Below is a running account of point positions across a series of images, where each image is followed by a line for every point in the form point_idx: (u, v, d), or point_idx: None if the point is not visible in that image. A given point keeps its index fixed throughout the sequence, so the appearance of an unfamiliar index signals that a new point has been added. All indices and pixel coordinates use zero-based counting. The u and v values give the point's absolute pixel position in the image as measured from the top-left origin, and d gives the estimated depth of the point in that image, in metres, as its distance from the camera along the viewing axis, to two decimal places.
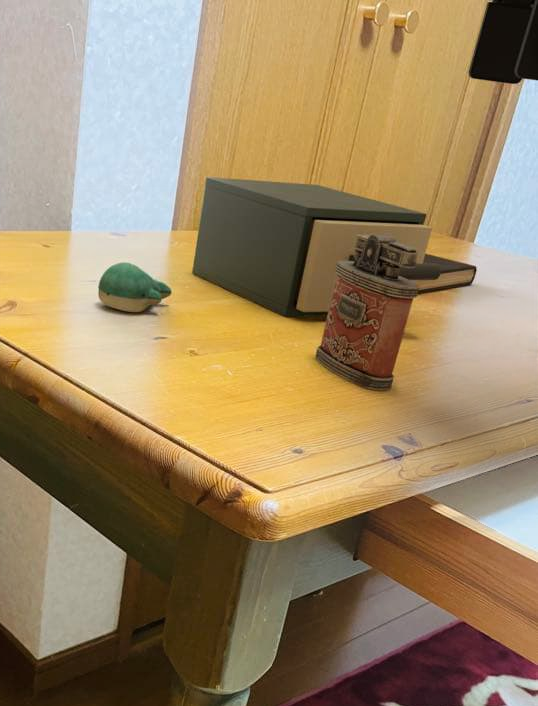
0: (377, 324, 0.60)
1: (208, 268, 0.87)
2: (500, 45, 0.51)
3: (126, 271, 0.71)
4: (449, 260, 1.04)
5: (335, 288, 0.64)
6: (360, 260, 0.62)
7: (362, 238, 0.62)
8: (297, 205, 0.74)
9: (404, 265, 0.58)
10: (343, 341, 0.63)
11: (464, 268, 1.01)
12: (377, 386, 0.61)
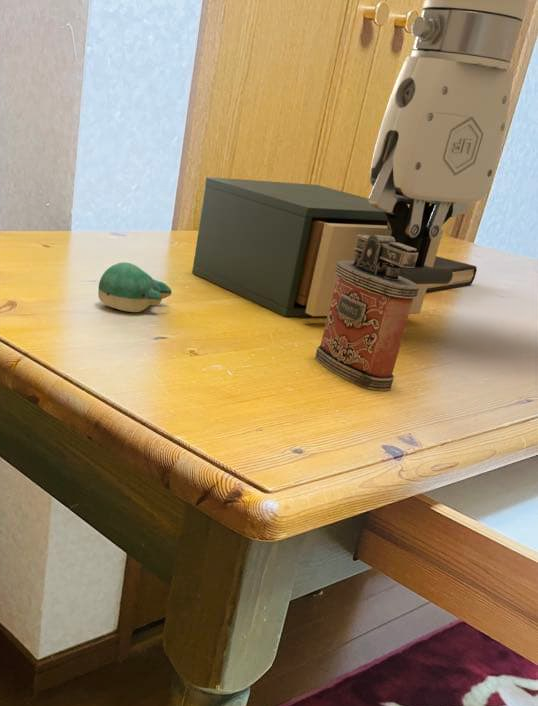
0: (377, 324, 0.60)
1: (208, 268, 0.87)
2: None
3: (126, 271, 0.71)
4: (449, 260, 1.04)
5: (335, 288, 0.64)
6: (360, 260, 0.62)
7: (362, 238, 0.62)
8: (297, 205, 0.74)
9: (404, 265, 0.58)
10: (343, 341, 0.63)
11: (464, 268, 1.01)
12: (377, 386, 0.61)
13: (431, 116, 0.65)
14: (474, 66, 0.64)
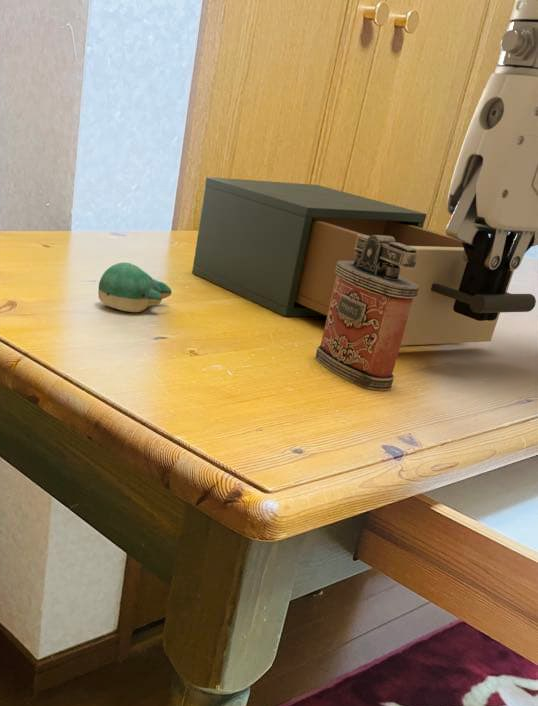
0: (377, 324, 0.60)
1: (208, 268, 0.87)
2: None
3: (126, 271, 0.71)
4: None
5: (335, 288, 0.64)
6: (360, 260, 0.62)
7: (362, 238, 0.62)
8: (297, 205, 0.74)
9: (404, 265, 0.58)
10: (343, 341, 0.63)
11: None
12: (377, 386, 0.61)
13: (521, 139, 0.59)
14: None
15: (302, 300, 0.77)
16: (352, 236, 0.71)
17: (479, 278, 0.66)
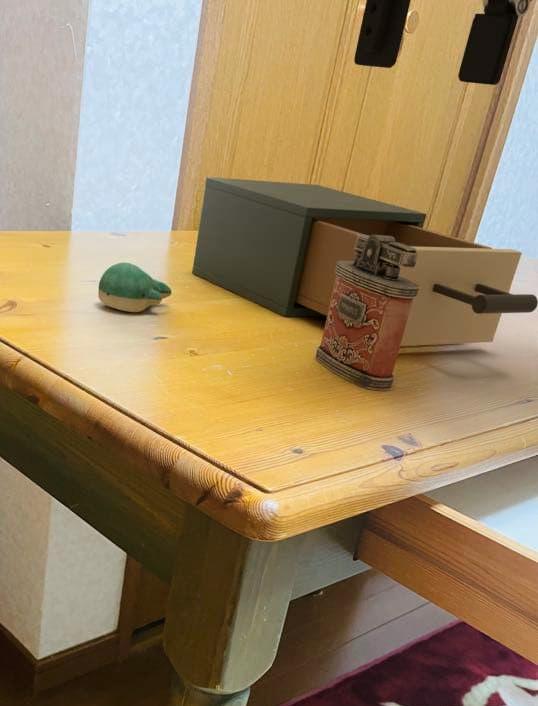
0: (377, 324, 0.60)
1: (208, 268, 0.87)
2: (478, 50, 0.56)
3: (126, 271, 0.71)
4: None
5: (335, 288, 0.64)
6: (360, 260, 0.62)
7: (362, 238, 0.62)
8: (297, 205, 0.74)
9: (404, 265, 0.58)
10: (343, 341, 0.63)
11: None
12: (377, 386, 0.61)
13: None
14: None
15: (304, 300, 0.77)
16: (354, 237, 0.71)
17: (381, 4, 0.50)
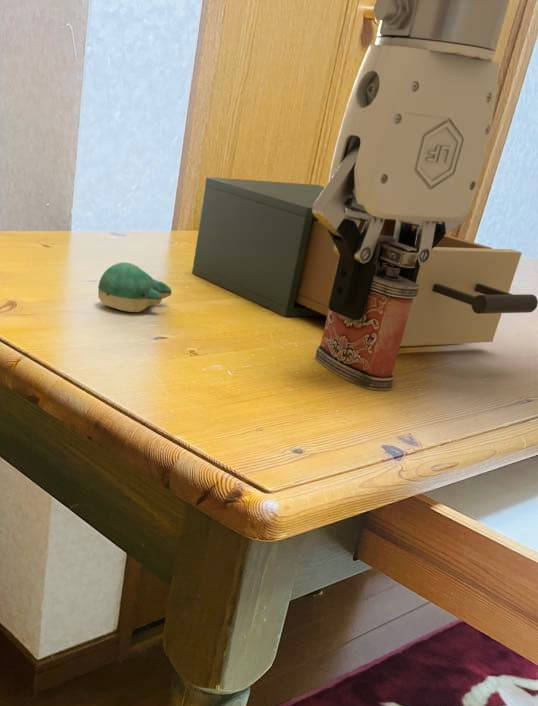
0: (377, 324, 0.60)
1: (208, 268, 0.87)
2: None
3: (126, 271, 0.71)
4: None
5: None
6: None
7: None
8: (297, 205, 0.74)
9: (404, 265, 0.58)
10: (343, 341, 0.63)
11: None
12: (377, 386, 0.61)
13: (399, 117, 0.53)
14: (451, 56, 0.52)
15: (304, 300, 0.77)
16: None
17: (350, 272, 0.59)
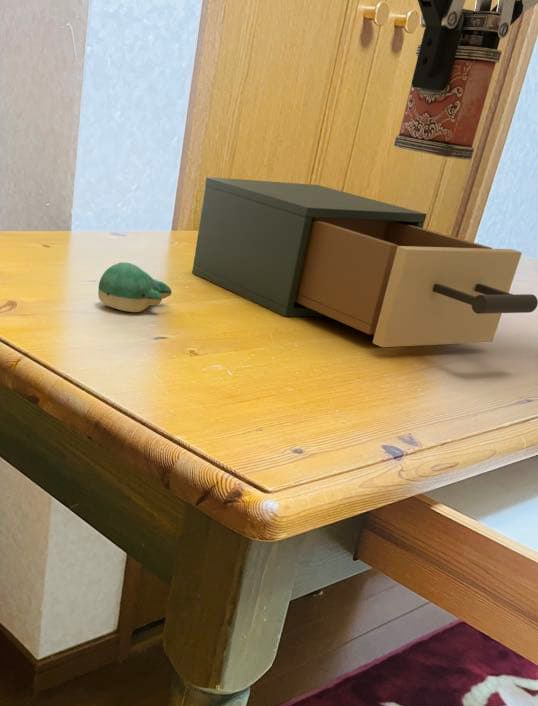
0: (461, 91, 0.64)
1: (208, 268, 0.87)
2: None
3: (126, 271, 0.71)
4: None
5: None
6: None
7: None
8: (297, 205, 0.74)
9: (489, 28, 0.62)
10: (425, 118, 0.67)
11: None
12: (459, 155, 0.65)
13: None
14: None
15: (304, 300, 0.77)
16: (354, 237, 0.71)
17: (436, 40, 0.63)
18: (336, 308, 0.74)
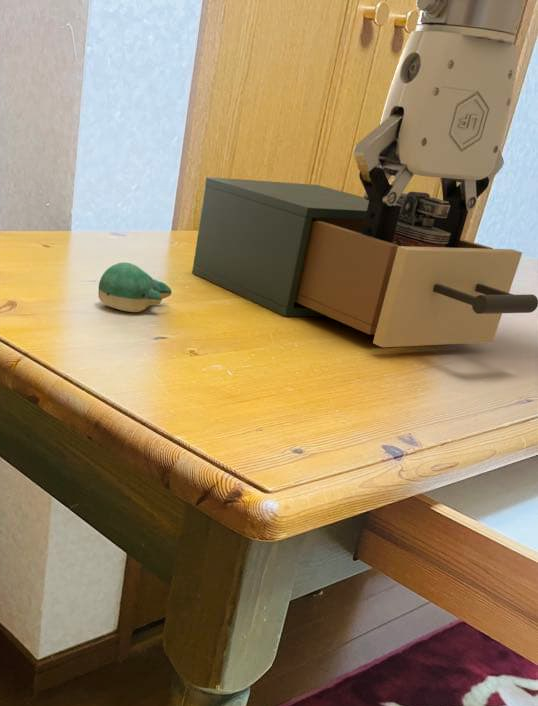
0: None
1: (208, 268, 0.87)
2: None
3: (126, 271, 0.71)
4: None
5: None
6: (399, 214, 0.73)
7: (401, 195, 0.73)
8: (297, 205, 0.74)
9: (438, 215, 0.69)
10: None
11: None
12: None
13: (437, 90, 0.64)
14: (480, 39, 0.63)
15: (304, 301, 0.77)
16: (354, 237, 0.71)
17: (378, 214, 0.69)
18: (336, 308, 0.74)
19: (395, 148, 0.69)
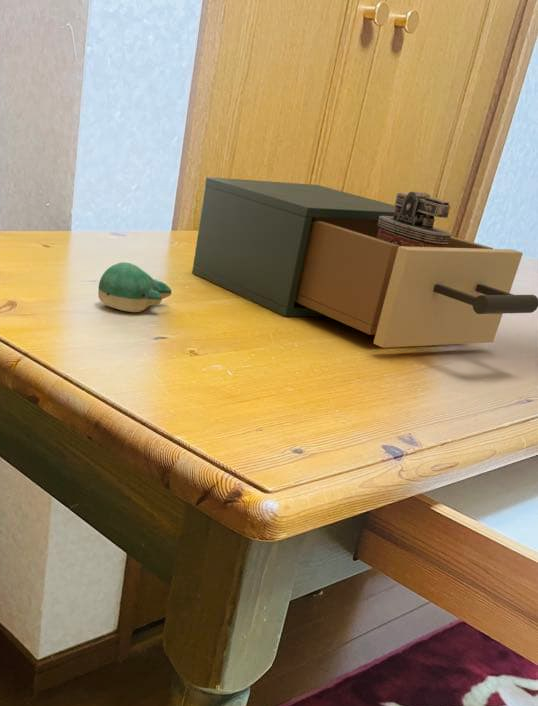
0: None
1: (208, 268, 0.87)
2: None
3: (126, 271, 0.71)
4: None
5: None
6: (400, 214, 0.73)
7: (402, 195, 0.73)
8: (297, 205, 0.74)
9: (439, 215, 0.69)
10: None
11: None
12: None
13: None
14: None
15: (304, 301, 0.77)
16: (354, 237, 0.71)
17: None
18: (337, 308, 0.74)
19: None
